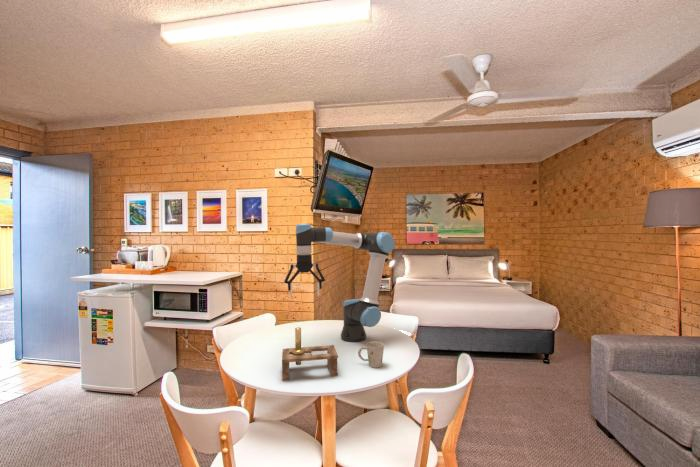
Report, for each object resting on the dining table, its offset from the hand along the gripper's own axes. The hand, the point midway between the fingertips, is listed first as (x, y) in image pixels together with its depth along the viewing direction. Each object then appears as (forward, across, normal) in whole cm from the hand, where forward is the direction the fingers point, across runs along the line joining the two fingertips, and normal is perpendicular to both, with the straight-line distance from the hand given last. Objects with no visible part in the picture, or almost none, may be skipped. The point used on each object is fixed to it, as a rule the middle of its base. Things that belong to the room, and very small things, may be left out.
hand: (305, 296), depth 164 cm
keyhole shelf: (+31, 0, +18) cm, 36 cm away
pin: (+27, +5, +18) cm, 33 cm away
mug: (+32, -29, +17) cm, 46 cm away
